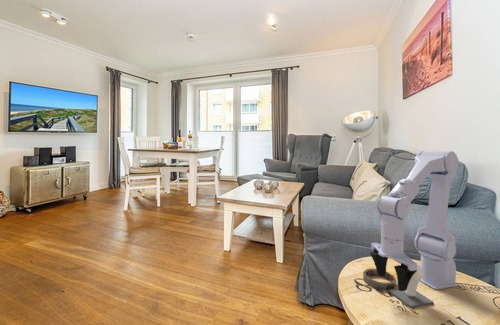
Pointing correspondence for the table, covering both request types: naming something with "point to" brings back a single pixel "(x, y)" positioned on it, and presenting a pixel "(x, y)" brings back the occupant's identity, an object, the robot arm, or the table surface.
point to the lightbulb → (414, 281)
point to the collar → (379, 284)
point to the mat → (411, 298)
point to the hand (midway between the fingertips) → (391, 282)
